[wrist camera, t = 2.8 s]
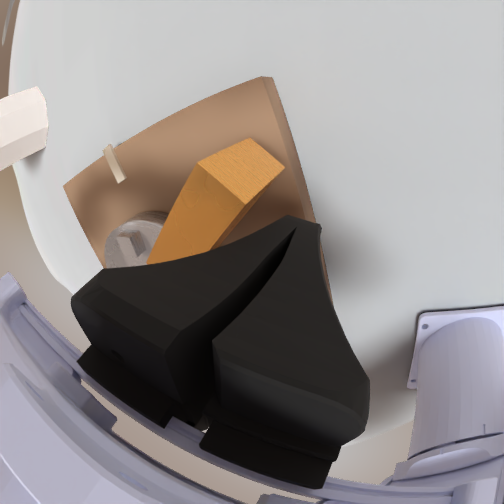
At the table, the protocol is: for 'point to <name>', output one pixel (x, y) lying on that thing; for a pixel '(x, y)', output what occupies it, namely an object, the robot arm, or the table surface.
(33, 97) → the mug
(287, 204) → the base plate
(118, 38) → the table surface
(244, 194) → the silver orange handled piece
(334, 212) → the table surface
